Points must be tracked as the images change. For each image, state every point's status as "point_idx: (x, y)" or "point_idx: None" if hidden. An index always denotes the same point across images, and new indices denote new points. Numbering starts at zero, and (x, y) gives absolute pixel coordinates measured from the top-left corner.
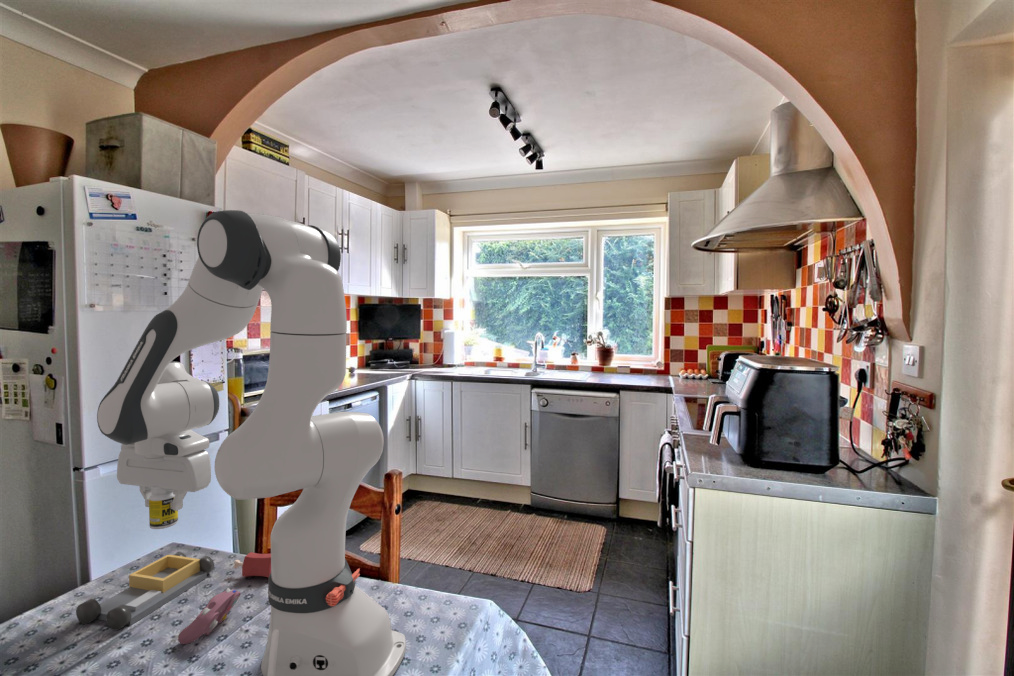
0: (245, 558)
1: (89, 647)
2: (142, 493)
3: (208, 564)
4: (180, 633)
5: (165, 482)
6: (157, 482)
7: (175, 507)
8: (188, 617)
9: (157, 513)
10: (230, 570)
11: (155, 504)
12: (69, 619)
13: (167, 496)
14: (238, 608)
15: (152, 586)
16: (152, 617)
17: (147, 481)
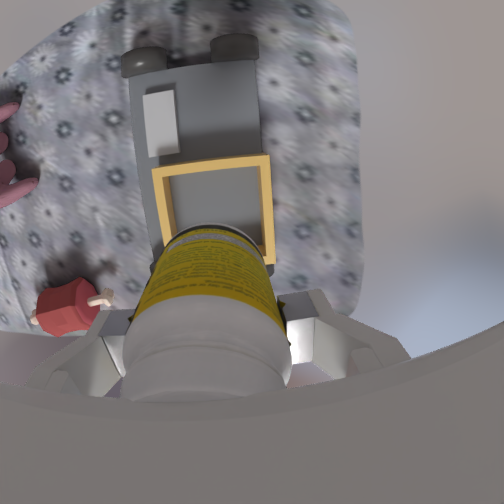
0: (69, 302)
1: (143, 19)
2: (366, 332)
3: (151, 273)
4: (6, 104)
5: (46, 439)
6: (138, 446)
7: (94, 319)
8: (60, 148)
9: (167, 260)
10: (141, 292)
11: (167, 285)
12: (281, 49)
13: (123, 360)
14: (19, 207)
15: (189, 161)
16: (118, 114)
17: (303, 435)
